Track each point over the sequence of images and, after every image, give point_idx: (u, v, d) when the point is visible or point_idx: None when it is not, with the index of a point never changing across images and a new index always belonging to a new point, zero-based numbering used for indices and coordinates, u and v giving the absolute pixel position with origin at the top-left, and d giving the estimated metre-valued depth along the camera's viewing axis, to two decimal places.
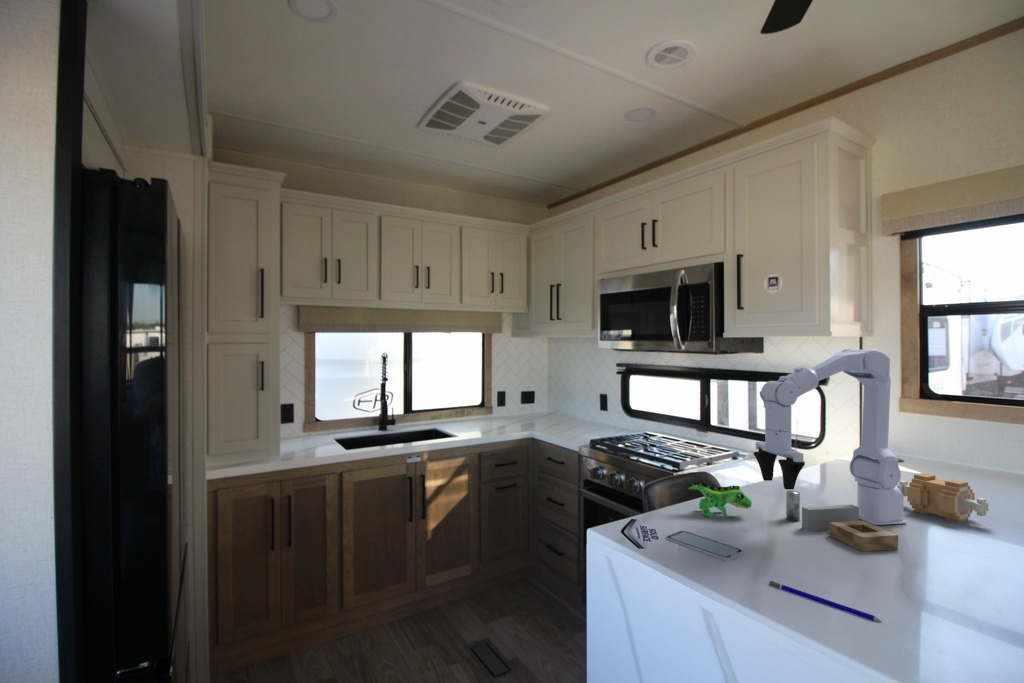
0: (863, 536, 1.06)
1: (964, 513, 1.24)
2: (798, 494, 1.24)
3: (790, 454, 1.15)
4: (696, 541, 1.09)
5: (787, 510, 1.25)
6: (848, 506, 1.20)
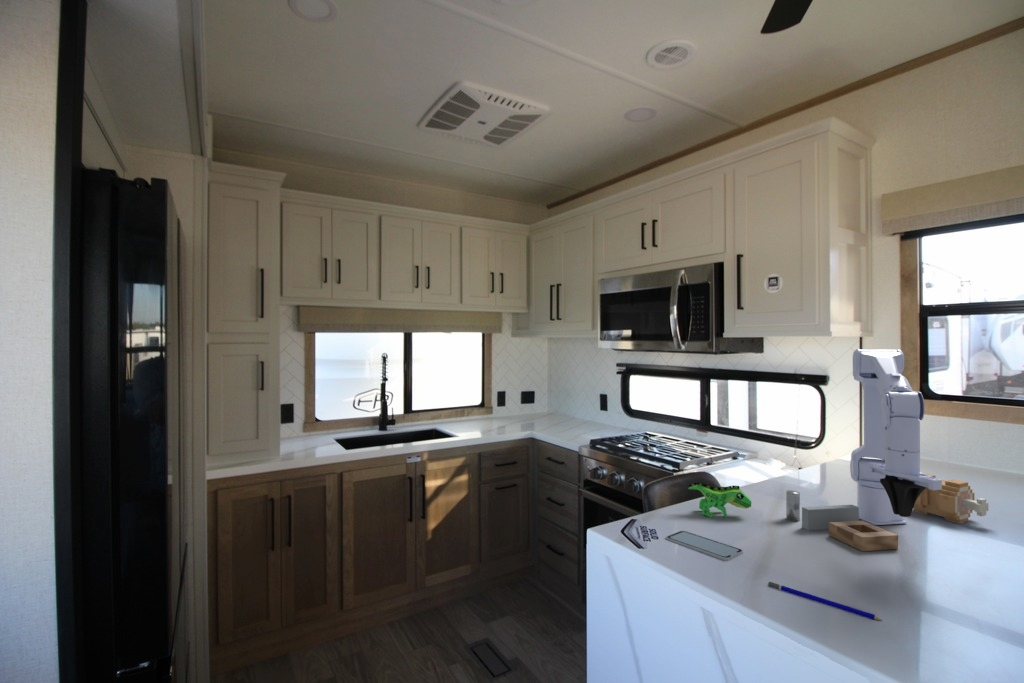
0: (863, 536, 1.06)
1: (964, 513, 1.24)
2: (798, 494, 1.24)
3: (924, 480, 0.96)
4: (695, 541, 1.09)
5: (787, 510, 1.25)
6: (848, 506, 1.20)
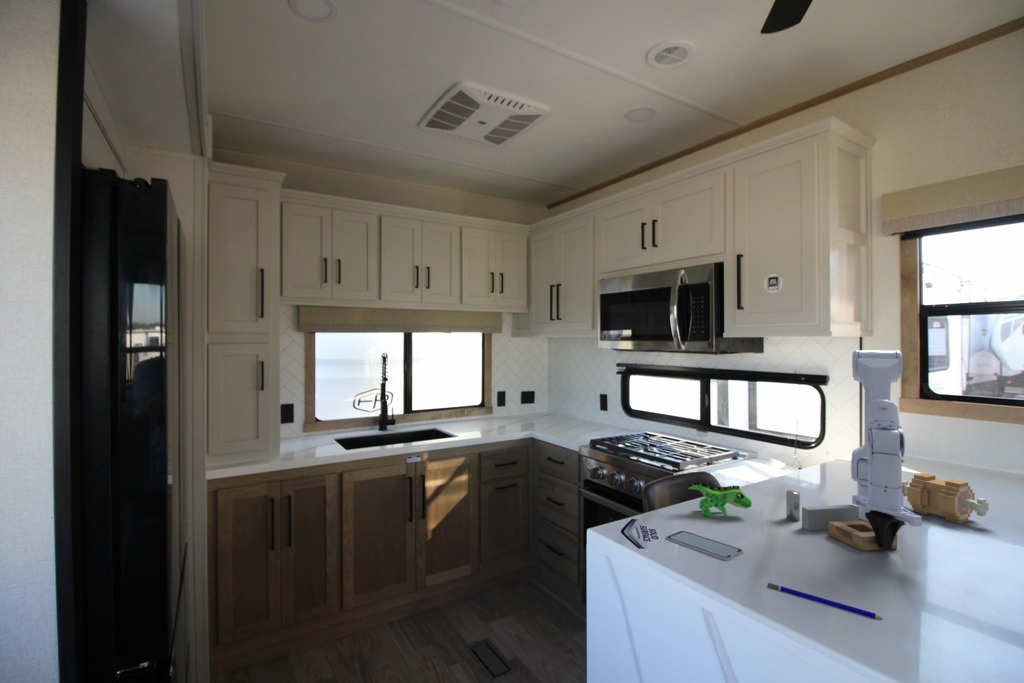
0: (862, 536, 1.06)
1: (964, 513, 1.24)
2: (798, 494, 1.24)
3: (905, 516, 0.99)
4: (695, 541, 1.09)
5: (787, 510, 1.25)
6: (848, 506, 1.20)
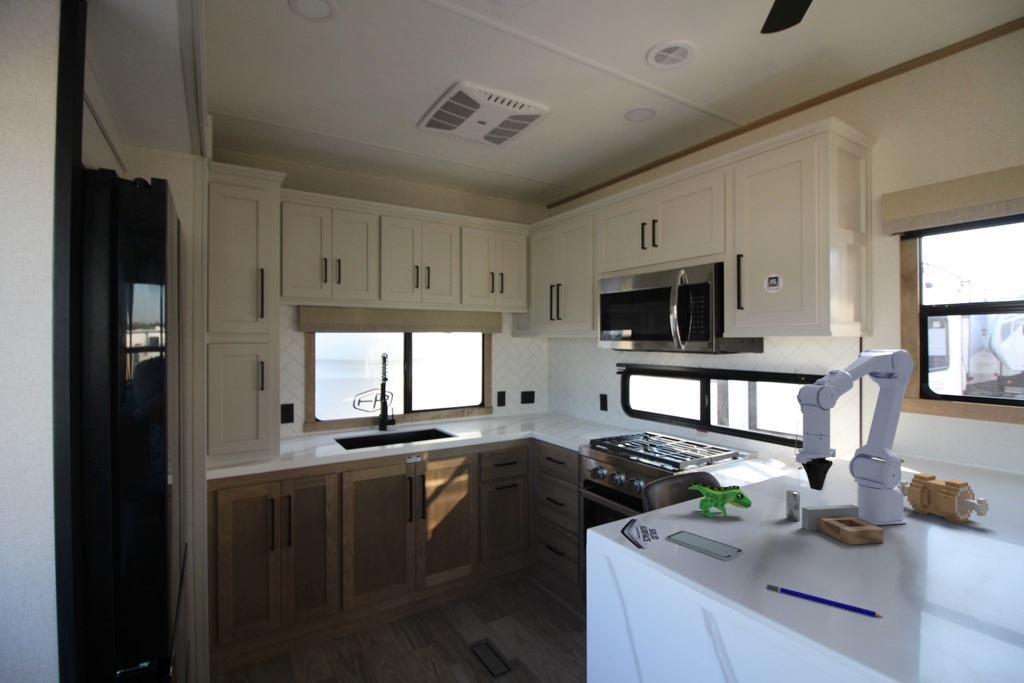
0: (849, 530, 1.09)
1: (964, 513, 1.24)
2: (798, 494, 1.24)
3: None
4: (695, 541, 1.09)
5: (787, 510, 1.25)
6: (848, 506, 1.20)
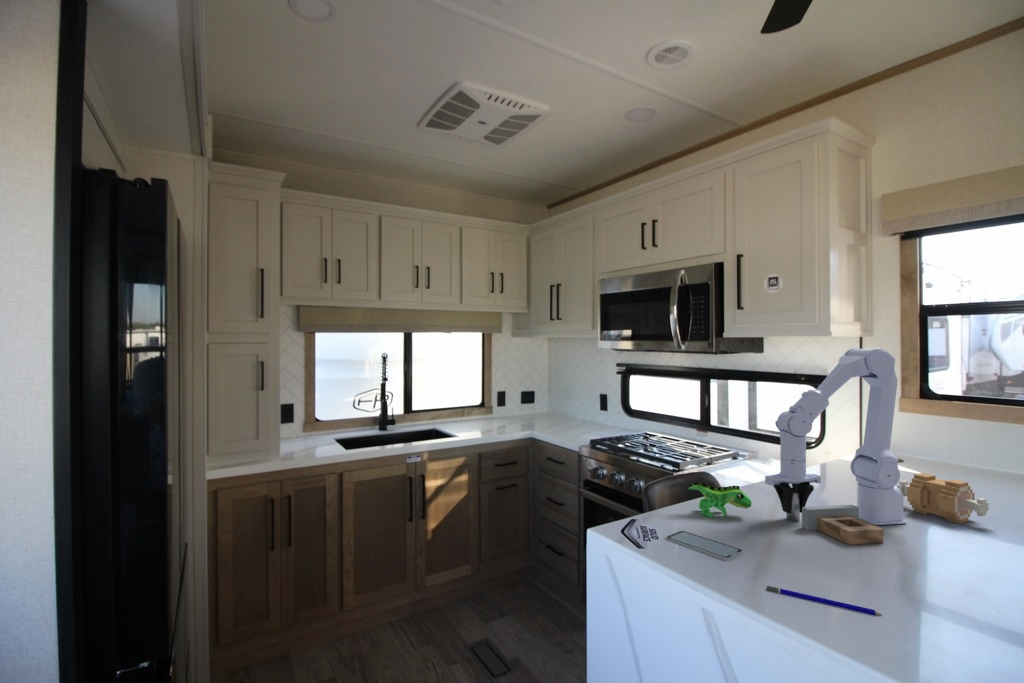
0: (849, 530, 1.09)
1: (964, 513, 1.24)
2: (798, 494, 1.24)
3: None
4: (695, 541, 1.09)
5: None
6: (848, 506, 1.20)
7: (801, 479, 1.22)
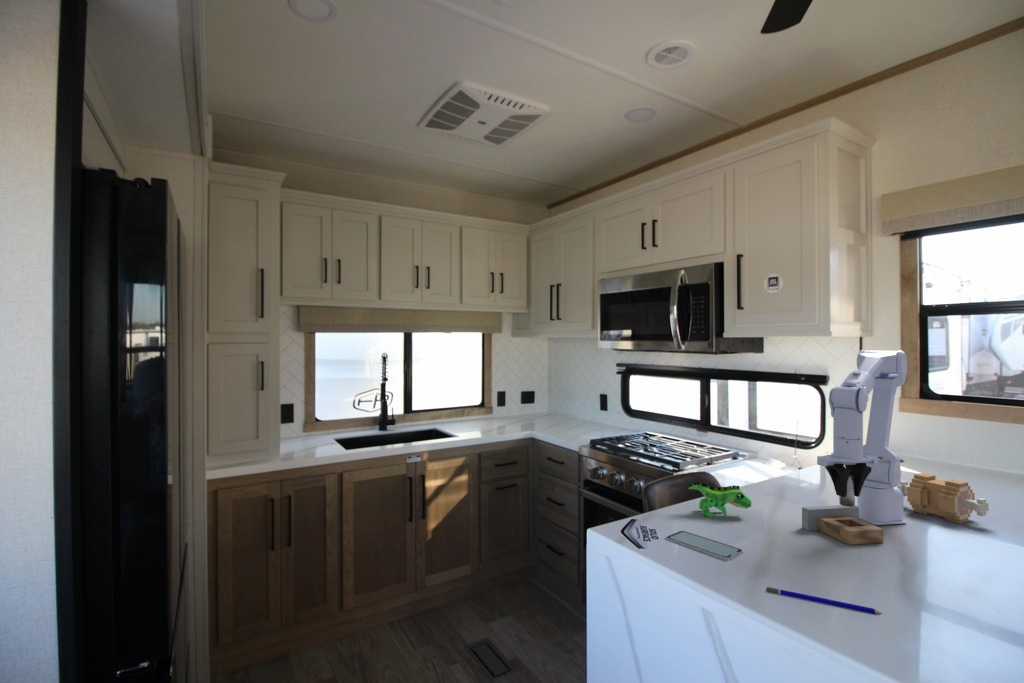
0: (849, 530, 1.09)
1: (964, 513, 1.24)
2: (853, 476, 1.14)
3: None
4: (695, 541, 1.09)
5: None
6: (848, 506, 1.20)
7: (858, 459, 1.12)
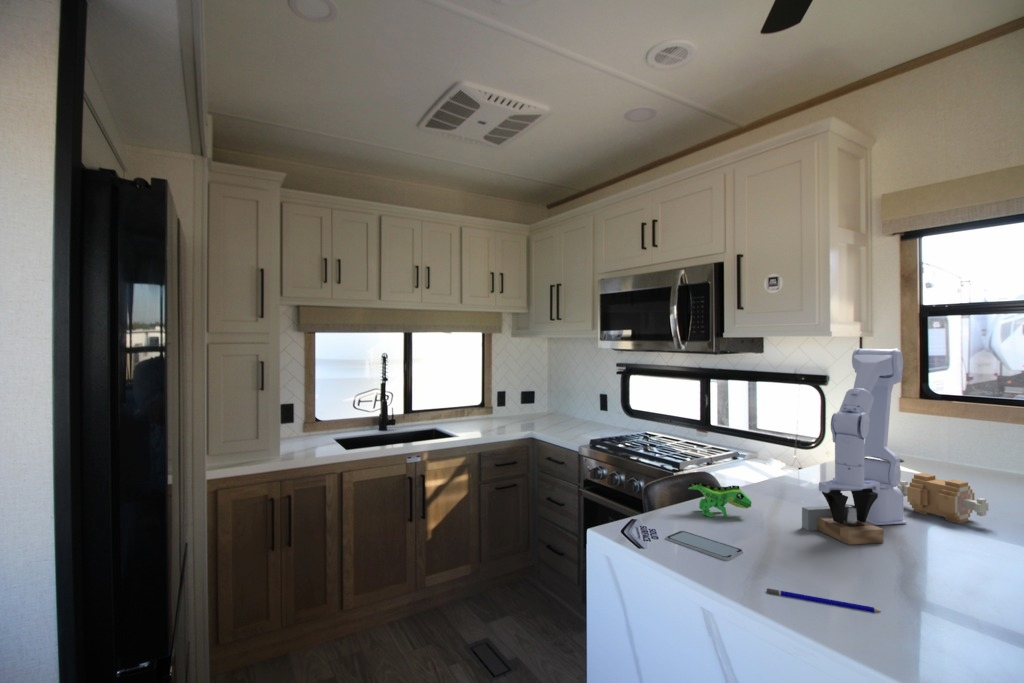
0: (849, 530, 1.09)
1: (964, 513, 1.24)
2: (856, 509, 1.13)
3: None
4: (695, 541, 1.09)
5: None
6: None
7: (860, 486, 1.11)
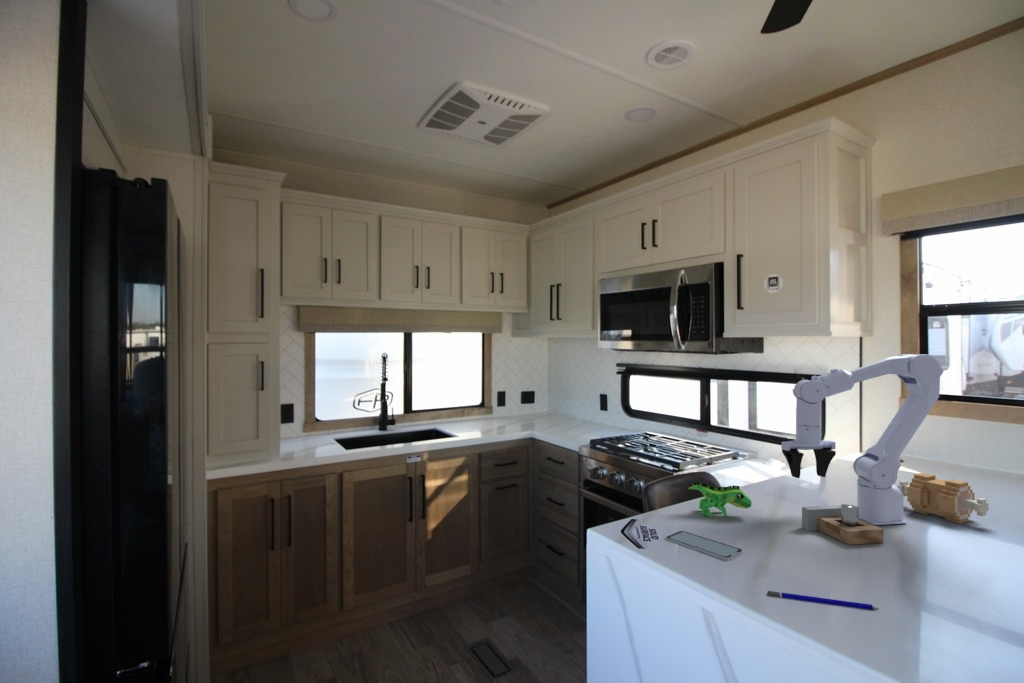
0: (849, 530, 1.09)
1: (964, 513, 1.24)
2: (855, 508, 1.13)
3: None
4: (695, 541, 1.09)
5: None
6: None
7: (817, 444, 1.26)
